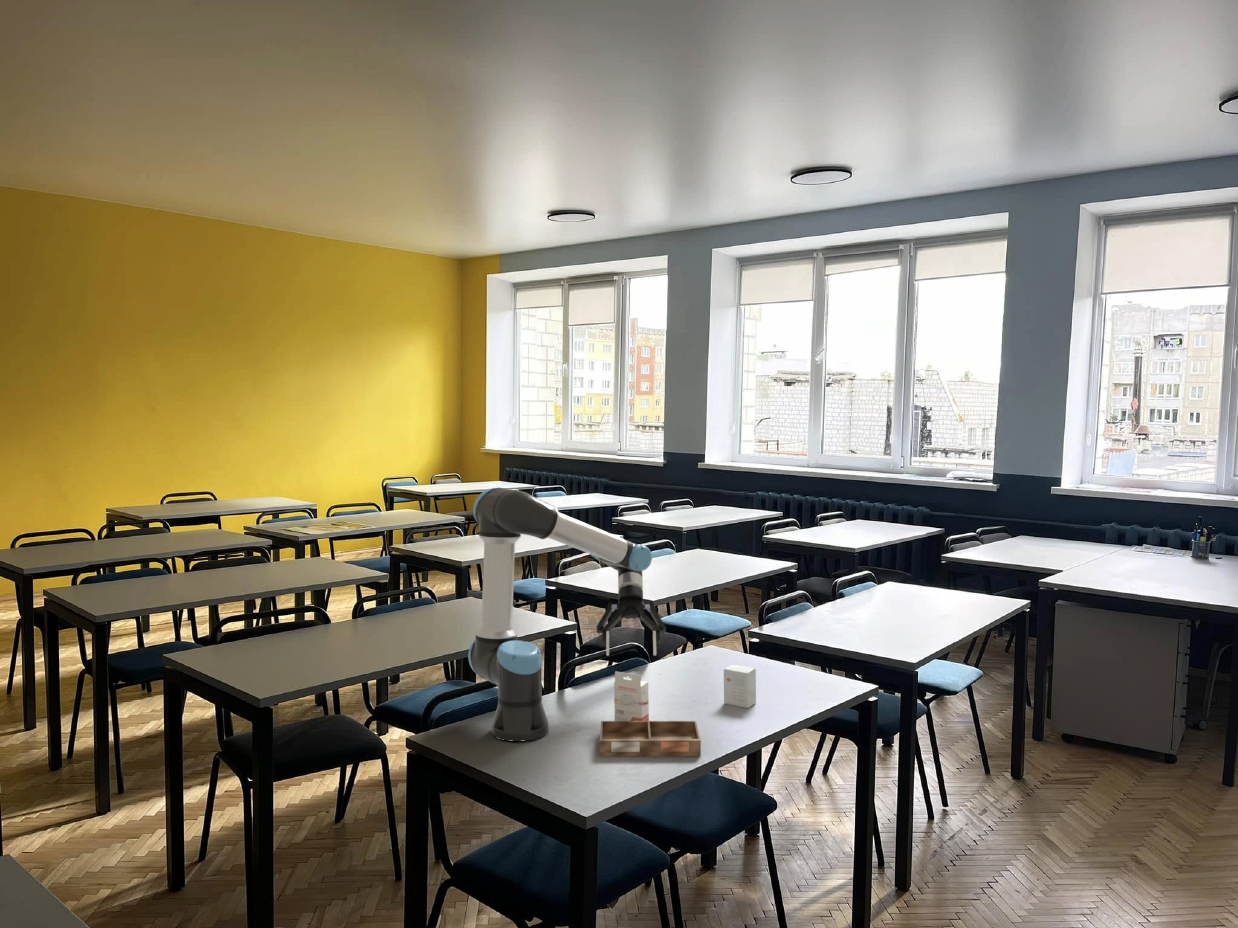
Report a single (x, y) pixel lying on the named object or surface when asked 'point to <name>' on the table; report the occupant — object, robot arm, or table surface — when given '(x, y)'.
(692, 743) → the wooden compartment tray
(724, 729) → the table surface
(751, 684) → the small box
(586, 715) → the table surface
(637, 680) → the ink cartridge box
